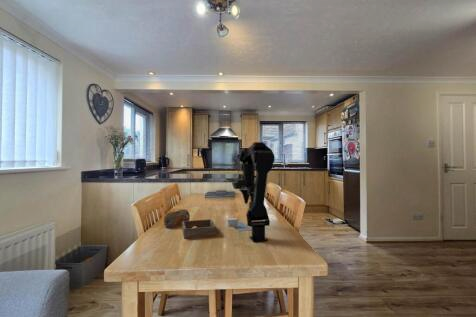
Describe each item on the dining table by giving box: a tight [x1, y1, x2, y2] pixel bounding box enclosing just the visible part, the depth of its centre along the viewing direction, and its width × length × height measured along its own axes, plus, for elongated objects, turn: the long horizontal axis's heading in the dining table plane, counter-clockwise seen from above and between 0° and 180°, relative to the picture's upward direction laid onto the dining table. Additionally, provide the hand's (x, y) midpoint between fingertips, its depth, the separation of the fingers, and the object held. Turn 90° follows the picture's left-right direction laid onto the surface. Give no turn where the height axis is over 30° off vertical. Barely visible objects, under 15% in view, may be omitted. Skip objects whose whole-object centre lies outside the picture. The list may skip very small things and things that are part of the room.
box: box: [181, 218, 218, 240], centre depth 116 cm, size 14×14×5 cm
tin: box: [163, 208, 190, 229], centre depth 130 cm, size 15×3×8 cm, turn 143°
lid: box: [226, 217, 252, 232], centre depth 128 cm, size 16×16×5 cm
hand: (249, 205), depth 125 cm, fingers open, 9 cm apart
